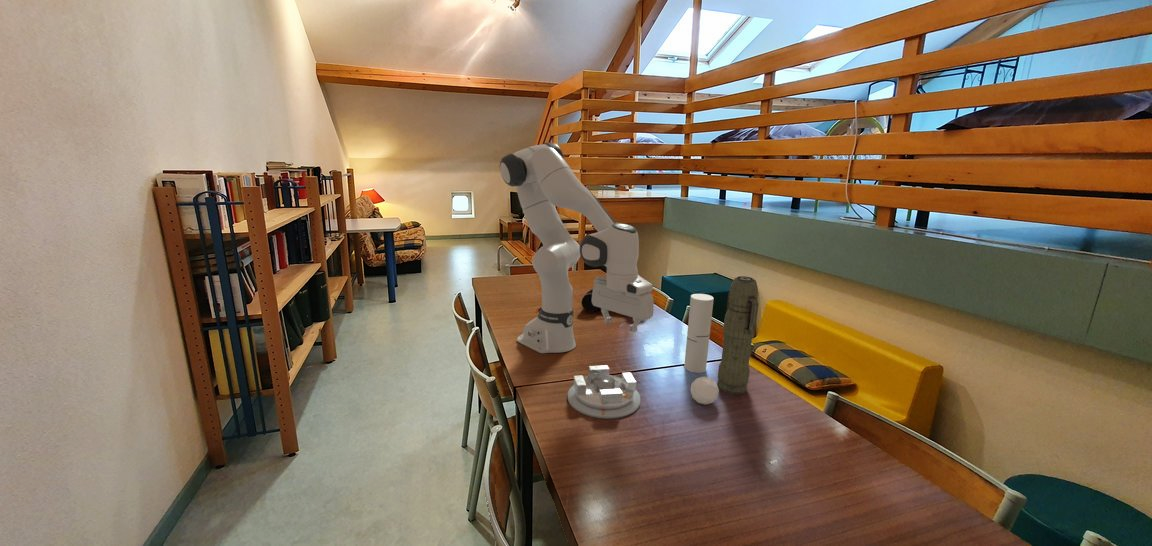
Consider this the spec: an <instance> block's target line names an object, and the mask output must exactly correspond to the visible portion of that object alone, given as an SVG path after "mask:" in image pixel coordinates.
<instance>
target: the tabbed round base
mask: <svg viewBox="0 0 1152 546" xmlns="http://www.w3.org/2000/svg"><path fill="white" fill-rule="evenodd" d="M573 385H574V388H575V397H576V399H577V400H578V401H579V402H580V403H581V404H583V405H585V406H587V407H590V408H593V409H598V410H617V409H621V408H624V407H626V406H628V405H629V404H630V403H631V402H632V401H633V396H634V391H636V390H637V389H636V388H637V381H636V380H635V378H634V376H633V374H632V372H622V373H621V377H619V376H617V375H611V374H610V367H609V366H608V365H607V364H604V365H602V364H601V365H589V366H588V375H587V376H585V377H584V375H583V374H582V375H573Z"/></svg>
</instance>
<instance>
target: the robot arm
mask: <svg viewBox="0 0 1152 546" xmlns="http://www.w3.org/2000/svg"><path fill="white" fill-rule="evenodd" d="M500 159H501V160H500V163H499V172H500V176H501V177H502V180H503V181H504V182H505V184H507V185H508V186H509V187H515V188H516V194H517V195H518V196H517V197H518V200H519V203H520V204H519V205H520V207H521V209H522V212H523V215H524V217H525V219H526V222H527V225H528V227H529V229H530V231H531V232H532V234H533V235H535V236H536V237H537V238H538V239H539V241H540V242H541V243H542V246H541V247H540V248H538V249H537V251H535V253H534V255H533V257H532V261H531V262H532V266H533V270H534V271H535V272H536V273H537V274H538V276H539V277H538V278H539V282H540V285H541V306H540V307H539V308H537V309H536V310H535V313H538V315H537V316H536V317H535V318H533V319H531V320H530V321H529V322H528V323H526V324H525V325H524V327H523V331H522V332H523V333H522V334H520V335H519V336H517V338H516V342H518V344H522V345H523V346H525V347H527V348H529V349H531V350H533V351H535V352H537V353H539V354H548V353H549V354H550V353H555V354H556V353H558V354H559V353H566V352H569V351H571V350H573V349H575V348H576V346H577V343H576V341H575V334H574V326H573V323H574V308H573V297H574V295H573V294H574V293H573V292H574V291H573V286H572V285H571V283H570V280H569V273H568V272H569V270H570V268H572V267H574V266H575V265H576V264H577V263H578V261H579V260H580V258H581V260H582V261H583V262H584V263H585V264H586V265H587V266H589V267H601V266H602V267H603V266H604V267H606V277H605V276H602V275H598V276H596V277H595V278H594V279H593V287H592V289H593V292H592V304H593V306H596V307H599V308H601V311H600V312H601V313H602V316H603V323H604V324H608V325H609V324H611V323H612V316H611V315H610V313H609V311H610V312H613V313H617V314H619V315H624V316H627V317H629V318H632V322H633V323H632V324H630V325H629V331H630V332H633V333H636V332H637V331H638V326H639V324H640V323H641V322H642V321H644V322H645V321H648V320H650V319H651V318H653V316H654V307H655V306H654V297H653V294H652V293H651V292H652V291H653V289H654V287H653V284H652V283H651V282H649V281H648V280H646V279H645V278H643V277H642V276H641V275H639V269H638V261H639V260H638V259H639V257H640V239H639V234H638V233H639V232H638V231H637V229H636V228H635V227H634V226H632V225H630V224H627V223H619V222H616V221H615V219H614V218H613V217H612V215H610V212H609V211H608V210H607V209H606V208H605V207H604V205H603V204H602V203H601V202H600V200H599V199H598V198H597V196H595V194H593V193H592V192H591V191H590V190H589V189H588V188H587V187H586V186H585V185H584V184H583V183H582V181H580V180H579V179H578V177H577V176H576V175H575V173H574V172H573V170H572V169H571V167H570V166H569V164H568V162H567V161H566V160H565V156H564V152H563V150H562V149H561V147H560V146H559V145H558V144H557V143H555V142H544V143H543V144H536V145H531V146H528V147H526V148H523V149H520V150H518V151H515V152H514V153H508V154H507V155H505V156H503V157H502V158H500ZM556 207H558V208H561V209H566V210H570V211H574V212H577V213H579V214H581V215H583V216H584V217H585V218H586V219H588V221H589V222H590V224H591V225H592V226H593V227H594V229H595V230H596V231H597V232H594V233H591V234H590V233H589V234H588V235H585V236H584V237H583V238H582V239H581V241H580V244H579V243H578V241H576V240H575V239H574V237H572V235H571V234H570V232H569V231H568V229H567V228H566V226H565V225H564V223H563V221H562V220H561V217H560V215H559V213H558V210H557V208H556Z"/></svg>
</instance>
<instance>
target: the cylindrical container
mask: <svg viewBox="0 0 1152 546" xmlns="http://www.w3.org/2000/svg"><path fill="white" fill-rule="evenodd" d="M689 302H690V303H689V310H688V311H689V313H688V323H687V332H686V333H687V335H686V342H685V343H686V346H685V355H684V367H683V368H684V369H685V370H687V371H689V372H691V373H697V374H698V373H699V374H701V373H704V372H705V371H706V370H707V363H708V353H709V347H710V346H709V345H710V344H709V343H710V336H711V327H712V318H713V310H714V309H713V308H714V307H713V306H714V297H713V296H712V295H710V294H705V293H693V294H691V295H690V301H689Z"/></svg>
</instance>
